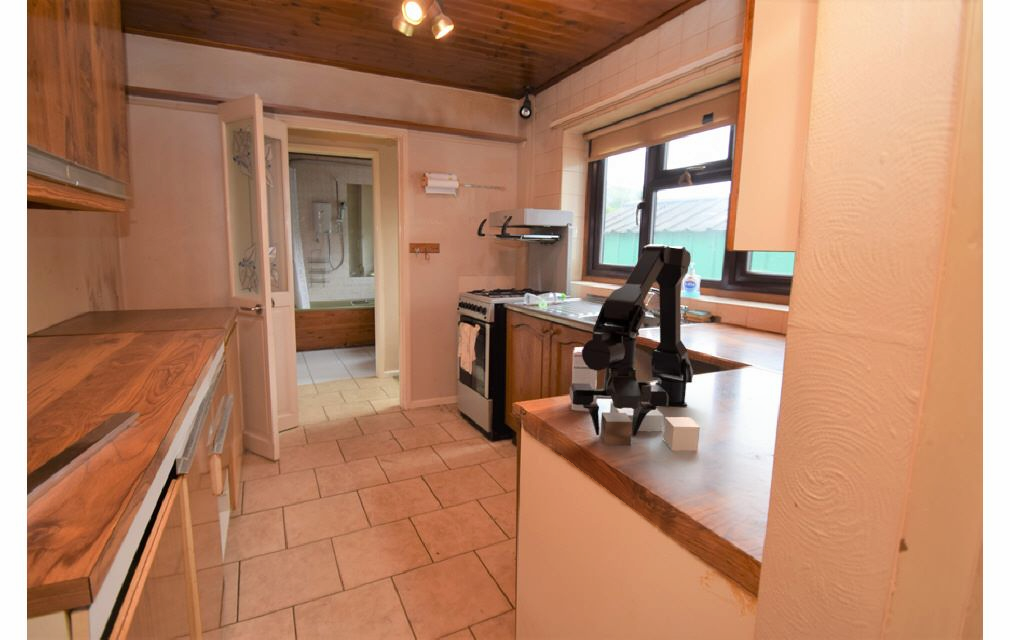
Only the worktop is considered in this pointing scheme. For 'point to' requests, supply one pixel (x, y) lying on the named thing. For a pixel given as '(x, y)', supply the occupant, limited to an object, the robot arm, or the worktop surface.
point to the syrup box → (582, 375)
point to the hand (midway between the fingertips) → (615, 435)
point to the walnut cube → (616, 428)
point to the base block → (649, 423)
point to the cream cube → (681, 433)
